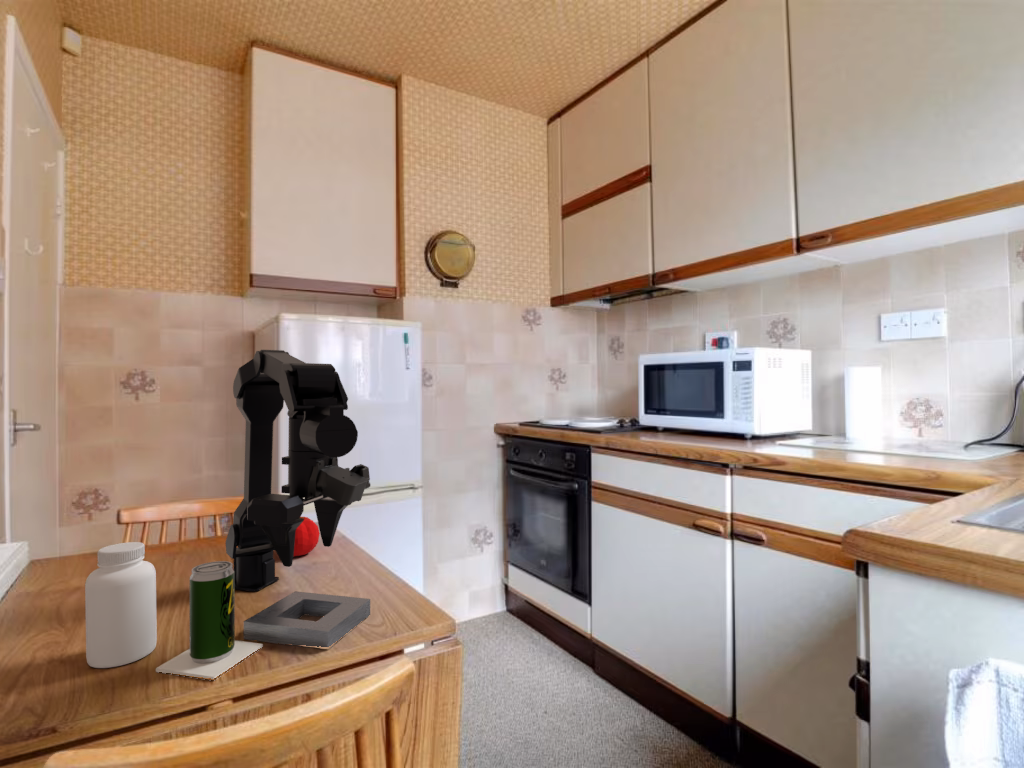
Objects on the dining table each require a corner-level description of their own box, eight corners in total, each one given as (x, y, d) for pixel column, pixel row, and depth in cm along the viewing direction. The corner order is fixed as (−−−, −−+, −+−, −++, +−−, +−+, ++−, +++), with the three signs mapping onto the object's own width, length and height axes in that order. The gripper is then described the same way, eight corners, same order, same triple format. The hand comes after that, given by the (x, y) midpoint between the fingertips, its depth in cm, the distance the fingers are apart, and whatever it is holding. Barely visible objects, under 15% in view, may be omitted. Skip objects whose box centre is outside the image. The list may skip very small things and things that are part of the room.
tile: (155, 672, 70) (155, 668, 70) (210, 640, 79) (210, 636, 79) (213, 680, 68) (213, 676, 68) (262, 647, 77) (262, 643, 77)
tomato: (310, 561, 115) (310, 521, 115) (262, 561, 115) (262, 521, 115) (326, 548, 124) (325, 511, 124) (281, 548, 124) (281, 511, 124)
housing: (243, 639, 79) (243, 621, 79) (295, 606, 91) (295, 591, 91) (328, 650, 76) (328, 631, 76) (370, 614, 88) (370, 598, 88)
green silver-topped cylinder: (189, 669, 70) (189, 576, 70) (189, 651, 75) (189, 564, 75) (236, 658, 73) (236, 569, 73) (232, 642, 77) (233, 558, 77)
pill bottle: (110, 642, 78) (110, 539, 78) (168, 640, 79) (168, 538, 79) (70, 671, 70) (70, 556, 70) (135, 668, 71) (135, 554, 71)
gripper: (318, 461, 67) (317, 585, 68) (390, 444, 85) (389, 542, 86) (244, 457, 70) (243, 575, 71) (328, 441, 88) (328, 535, 89)
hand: (308, 555), depth 79 cm, fingers open, 9 cm apart
